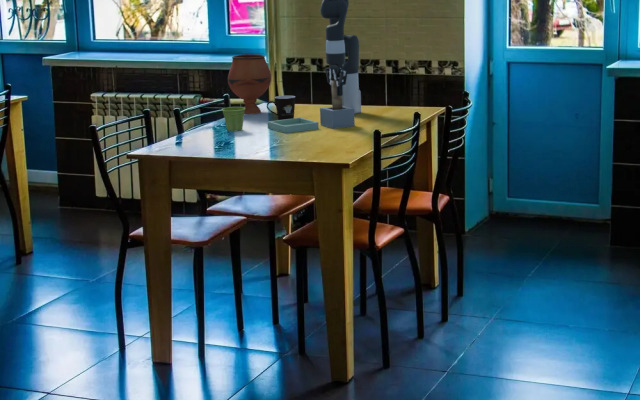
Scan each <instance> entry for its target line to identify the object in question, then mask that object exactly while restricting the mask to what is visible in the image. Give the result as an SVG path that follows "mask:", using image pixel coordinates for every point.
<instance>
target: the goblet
mask: <svg viewBox="0 0 640 400" xmlns="http://www.w3.org/2000/svg"><path fill="white" fill-rule="evenodd" d="M265 57H266V55H263V54H258V53H257V54H254V53H250V54H247V53H245V54H236V55H233V56H232V57H231V59H232V62H231V65H230V69H229V72H228V74H227V75H228V76H227V83H228V86H229V88H230V90H231V91H232V93H233V94H235V95H236V97H238V98H240V99H242V100H243V101H242V102H243V103H244V104H245V105H244V106H243V107H244V108H245V110H244V115H251V114H253V115H254V114H256V115H257V114H259V113H261V112H262V111H261V109H260V106H258V105H257V104H256V102H258V98H260V97H261V96H262V95H264V94H265V93H266V92H267V90H268V89H269V88H270V85H271V81H272V74H271V71H270V67H269V65H268V63H267V60H266V58H265Z"/></svg>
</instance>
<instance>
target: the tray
mask: <svg viewBox="0 0 640 400" xmlns="http://www.w3.org/2000/svg"><path fill="white" fill-rule="evenodd" d="M319 127H320V126H319V121H314V120H312V119H307V118H304V117H294V118H293V119H285V120H278V119H277V120H270V121H267V129H270V130H273V131H277V132H280V133H283V134H289V133H296V132H298V133H299V132H303V131H304V132H305V131H313V130H319V129H320V128H319Z"/></svg>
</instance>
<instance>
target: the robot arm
mask: <svg viewBox="0 0 640 400" xmlns="http://www.w3.org/2000/svg"><path fill="white" fill-rule="evenodd" d="M349 3H350V2H349V0H322V1H321V5H320V11H319V12H320V14H321V15H320V16H322V18H323V19H326V20H328V21H329V25H327V26H326V27H325V40H326V41H325V57H326V60H325V61H326V62H325V63H326V64H327V65H328V68H325V69H324V70H325V71H324V72H325V76H326V82H327V84H329V85H330V93H331V95H332V80H335V81H336V84H337V96H342V106H345V107H350V108H354V115H355V114H359V113H362V94H361V93H362V92H361V90H360V87H359V85H360V84H359V65H360V64H359V63H360V62H359V61H360V41H359V38H358V36H357V35H355V34H345V33H344V31H345V30H344V29H345V22H346V18H347V13H348V9H349V6H350V5H349ZM346 57H347V61H346Z"/></svg>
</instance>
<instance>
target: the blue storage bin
mask: <svg viewBox="0 0 640 400" xmlns="http://www.w3.org/2000/svg"><path fill="white" fill-rule="evenodd" d="M319 117H320V126H321V127H325V128H329V129H332V130H333V129H341V128H348V127H355V126H356V125H355V124H356V123H355V114H354V108H350V107H345V106H342V109H338V110H332V106H328V107H320V108H319Z"/></svg>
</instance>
